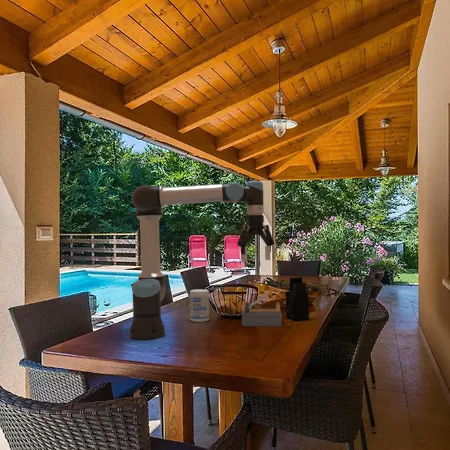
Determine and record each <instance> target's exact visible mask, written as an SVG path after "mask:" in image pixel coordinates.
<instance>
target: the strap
mask: <svg viewBox="0 0 450 450" xmlns="http://www.w3.org/2000/svg"><path fill="white" fill-rule="evenodd" d="M273 292H274V288H271V289H270V290H269V291H267V292H266V293H264V294H263V295H262V296H260V297H259V298H257V299H256V300H255V301H253V302H252V303H251V304H250V303H249V306H248V309H249V308H253V307H254V306H255V305H256V304H257V303H259V302H260V301H262V300H263V299H265V298H266V297H268V296H269V295H270V294H272V293H273Z"/></svg>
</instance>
